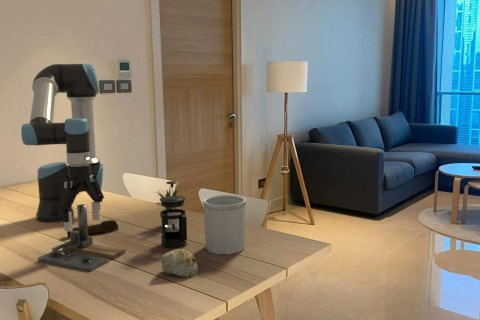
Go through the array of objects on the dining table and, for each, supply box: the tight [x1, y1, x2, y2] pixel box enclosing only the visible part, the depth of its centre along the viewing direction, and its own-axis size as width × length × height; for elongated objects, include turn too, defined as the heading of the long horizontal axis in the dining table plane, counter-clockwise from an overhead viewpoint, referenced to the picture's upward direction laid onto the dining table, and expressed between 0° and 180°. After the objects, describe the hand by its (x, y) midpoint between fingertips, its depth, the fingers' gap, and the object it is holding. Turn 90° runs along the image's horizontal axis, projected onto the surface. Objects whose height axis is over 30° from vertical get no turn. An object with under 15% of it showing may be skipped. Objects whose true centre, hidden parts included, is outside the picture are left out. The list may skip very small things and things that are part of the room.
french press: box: [159, 180, 188, 250], centre depth 171 cm, size 12×9×23 cm
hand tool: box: [66, 219, 119, 239], centre depth 186 cm, size 19×4×5 cm, turn 116°
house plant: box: [154, 185, 187, 224], centre depth 194 cm, size 14×14×16 cm
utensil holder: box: [202, 193, 247, 255], centre depth 168 cm, size 15×15×18 cm
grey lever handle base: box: [51, 231, 126, 260], centre depth 163 cm, size 14×22×6 cm, turn 66°
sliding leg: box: [60, 203, 94, 255], centre depth 163 cm, size 13×3×14 cm, turn 156°
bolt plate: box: [37, 249, 109, 272], centre depth 158 cm, size 8×22×1 cm, turn 66°
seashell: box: [160, 248, 199, 278], centre depth 148 cm, size 10×10×10 cm
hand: (83, 225), depth 167 cm, fingers open, 13 cm apart
